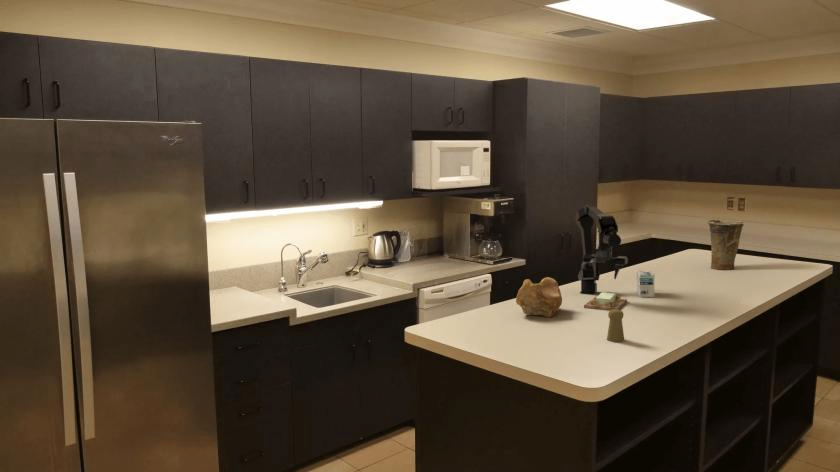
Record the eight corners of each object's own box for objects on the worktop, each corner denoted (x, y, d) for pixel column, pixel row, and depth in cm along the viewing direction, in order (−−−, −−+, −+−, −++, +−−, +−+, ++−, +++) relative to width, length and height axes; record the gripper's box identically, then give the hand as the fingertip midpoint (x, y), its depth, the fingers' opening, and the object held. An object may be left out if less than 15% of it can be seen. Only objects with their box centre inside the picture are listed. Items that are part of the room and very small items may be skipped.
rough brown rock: (541, 325, 251) (545, 288, 248) (509, 314, 263) (512, 279, 260) (575, 315, 266) (578, 281, 264) (543, 306, 278) (546, 273, 276)
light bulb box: (654, 297, 287) (655, 274, 286) (639, 297, 289) (639, 274, 287) (650, 292, 298) (651, 270, 296) (636, 292, 299) (636, 270, 298)
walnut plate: (584, 307, 272) (584, 300, 272) (595, 299, 287) (595, 292, 287) (616, 311, 265) (616, 303, 265) (627, 302, 280) (627, 295, 280)
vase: (706, 264, 363) (708, 218, 359) (741, 266, 355) (743, 219, 351) (705, 270, 347) (707, 222, 343) (742, 272, 339) (744, 223, 335)
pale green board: (595, 304, 272) (595, 298, 272) (601, 298, 283) (602, 292, 282) (609, 305, 269) (609, 299, 269) (615, 299, 280) (615, 293, 279)
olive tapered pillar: (604, 337, 228) (604, 308, 226) (620, 337, 228) (620, 307, 227) (610, 342, 222) (610, 312, 221) (627, 341, 222) (627, 311, 221)
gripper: (578, 245, 276) (578, 279, 279) (621, 248, 266) (621, 283, 269) (586, 241, 286) (586, 275, 288) (628, 244, 276) (627, 278, 278)
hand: (604, 278), depth 280 cm, fingers open, 9 cm apart
